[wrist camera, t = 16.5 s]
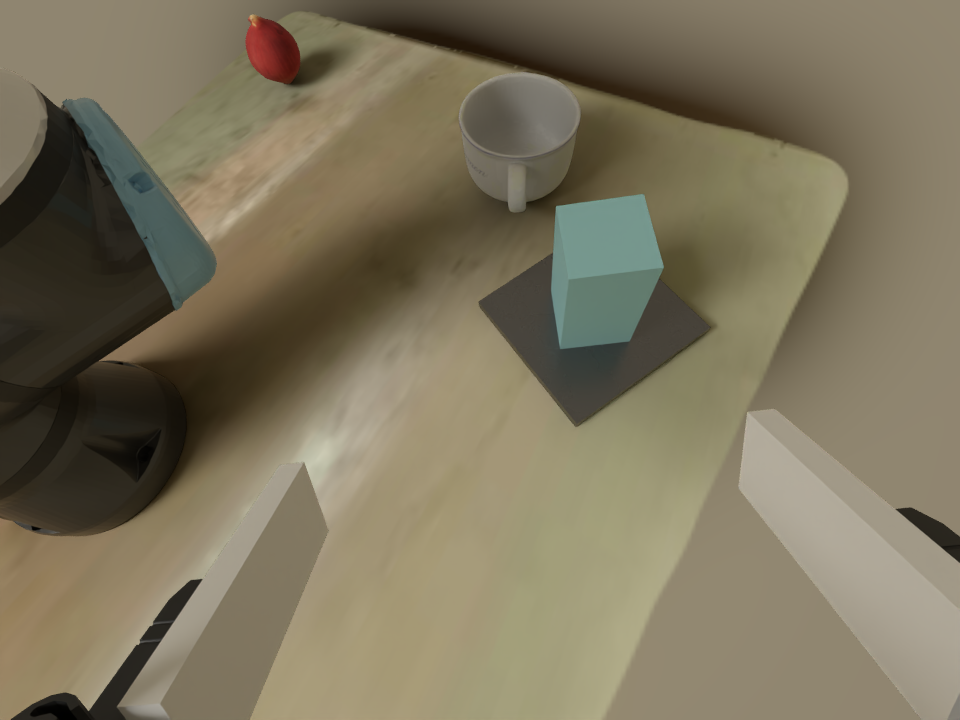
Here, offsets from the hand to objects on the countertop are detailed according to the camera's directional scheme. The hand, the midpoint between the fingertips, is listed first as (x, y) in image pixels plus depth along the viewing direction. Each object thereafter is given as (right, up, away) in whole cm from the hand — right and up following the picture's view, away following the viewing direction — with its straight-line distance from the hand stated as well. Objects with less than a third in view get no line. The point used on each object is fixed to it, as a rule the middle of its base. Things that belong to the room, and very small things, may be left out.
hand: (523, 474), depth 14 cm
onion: (-26, +39, +44) cm, 64 cm away
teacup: (+3, +21, +33) cm, 39 cm away
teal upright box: (+8, +7, +25) cm, 28 cm away
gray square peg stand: (+8, +7, +26) cm, 29 cm away
